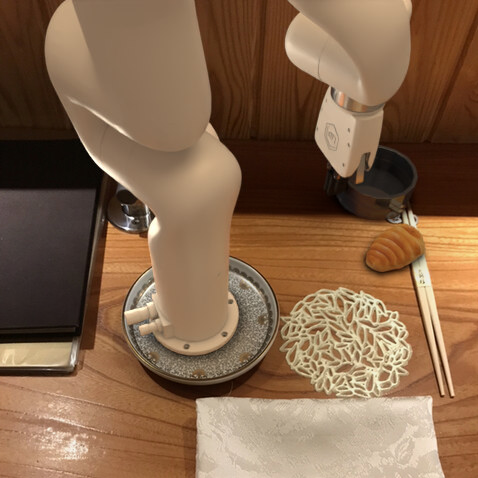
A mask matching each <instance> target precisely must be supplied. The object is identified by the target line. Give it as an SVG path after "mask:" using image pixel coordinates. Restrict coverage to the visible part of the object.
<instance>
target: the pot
mask: <svg viewBox="0 0 478 478" xmlns="http://www.w3.org/2000/svg"><path fill="white" fill-rule="evenodd" d="M418 179H419V177H418V171H417V168H416V166H415V164H414V163H413V162H412V161H411V159H410V158H409V157H408V155H406V154H404V153H402V152H400V151H399V150H397V149H395V148H393V147H388V146H385V145H382V144H378V148H377V152H376V155H375V159H374V162H373V164H372V166H371V168H370V170H369V171H365V170H364V178H363V182H362V183H359V184H353V183H352V182H351V181H350V180H348V184H347V188H346V191H345V192H343V193H339V194H335V195H336V198H337V201H338V202H339V203H340V205H341V206H342V207H343V208H344V209H345V210H346V211H347V212H349V213H351V214H352V215H354V216H356V217H358V218H361V219H365V220H369V221H385V220H390V219H393V218H395V217H397V216H399V215H401V214H402V213H403V212H404V211H405V210H406V208H407V207H408V204H409V202H410V199H411V197H412V195H413V192H414V190H415V187H416V184H417V181H418Z"/></svg>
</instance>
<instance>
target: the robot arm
mask: <svg viewBox="0 0 478 478" xmlns="http://www.w3.org/2000/svg"><path fill="white" fill-rule="evenodd" d="M287 2H288V3H289V4H290V5H292V7H294V8H295V10H297V11H298V12H299V13H297V15H296V16H294V17H293V19H292V21H291V22H290V24H289V25H288V28H287V29H286V33H285V37H284V49H285V50H284V51H285V52H286V55H287V57H288V59H289V61H290V62H291V63H292V64H293V65H294V66H296V67H297V68H298V69H299V70H301V71H302V72H304V73H306V74H308V75H310V76H311V77H313V78H315V79H316V80H318V81H320V82H322V83H324V84H326V85H328V88H327V90H326V91H325V95H324V97H323V100H322V103H321V105H320V106H321V107H320V110H319V114H318V118H317V122H316V126H315V130H314V140H315V142H316V145H317V146H318V149H320V151H321V152H322V153H323V155H324V157H325V158H326V168H327V172H326V177H325V180H324V185H323V190H324V191H325V192H326V194H327V196H328V197H331V196H335V195H336V194H339V193H343V192H345V191H346V188H347V184H348V180H350V181H351V182H352V183H353V184H359V183H362V182H363V178H364V170H365V171H369V170H370V168H371V166H372V164H373V162H374V159H375V155H376V152H377V148H378V145H380V138H381V134H382V128H383V121H384V107H385V105H386V102H388V101H389V100H390V99H391V98H393V97H394V96H395V94H397V92H398V91H399V90H400V88H401V87H402V85H403V82H404V81H405V78H406V76H407V73H408V70H409V65H410V60H411V50H412V47H411V46H412V45H411V44H412V43H411V41H412V40H411V39H412V38H411V25H410V22H411V19H412V18H411V17H412V14H413V4H412V0H287ZM199 26H200V25H199V21H198V15H197V9H196V1H195V0H64V1H63V2H62V3H60V5H59V6H58V7H57V8H56V10H55V11H54V13H53V15H52V16H51V18H50V20H49V23H48V25H47V29H46V32H45V33H46V34H45V39H44V40H45V41H44V58H45V65H46V71H47V73H48V76H49V80H50V83H51V85H52V86H53V88H54V91H55V93H56V95H57V96H58V98H59V101H60V103H61V104H62V106H63V108H64V110H65V112H66V114H67V117H68V118H69V120H70V122H71V124H72V126H73V128H74V130H75V132H76V133H77V135H78V138H79V139H80V142H81V143H82V145H83V147H84V148H85V150H86V152H87V153H88V155H89V156H90V157H91V159H92V160H93V161H94V163H95V164H96V165H97V166H98V167H99V168H100V169H101V170H102V171H104V172H105V173H106V174H107V175H108V176H110V177H111V178H112V179H114V180H115V181H116V182H117V183H118V184H120V185H121V186H122V187H123V188H125V189H126V190H127V191H128V192H130V193H131V194H132V195H133V196H134V197H135V198H136V199H138V200H139V201H140V202H141V203H143V204H144V205H145V206H146V207H147V208H148V209H149V210H150V211H151V212H152V213H153V215H154V216H155V217H154V218H153V219H152V220H151V223H150V224H149V226H148V230H147V245H148V251H149V256H150V262H151V267H152V274H153V275H152V276H153V281H154V287H155V293H154V292H153V293H152V294H151V300H152V301H150V302H147V303H145V306H141V307H140V308H139V307H138V308H134V309H130V310H126V311H124V312H123V314H124V317H125V321H126V324H127V326H133V325H136V324H138V323H141V322H143V321H145V320H149V323H145V324H141V325H138V326H137V327H138V331H139V333H140V336H141V337H143V336H146V335H149V334H151V333H152V334H153V336H154V337H155V339H156V341H158V342H159V343H160V344H161V345H162V346H163V347H165V348H166V349H168V350H170V351H171V352H174V353H177V354H179V355H186V356H201V355H207V354H209V353H212V352H215V351H217V350H218V349H220V348H222V347H224V346H225V345H226V344H227V343H228V342H229V341H230V340H231V339H232V338H233V336H234V335H235V332H236V331H237V328H238V325H239V319H240V318H239V317H240V315H239V311H240V310H239V306H238V302H237V300H236V298H235V297H234V294H233V293H231V291H230V290H229V286H230V285H229V283H230V282H229V281H230V280H229V279H230V250H231V249H230V243H231V241H230V239H231V226H232V219H233V215H234V211H235V207H236V204H237V201H238V198H239V194H240V191H241V186H242V177H243V176H242V170H241V166H240V164H239V162H238V160H237V158H236V157H235V155H234V154H233V153H232V151H230V150H229V148H228V147H227V146H226V145H225V144H224V143H223V142H221V141H220V139H219V140H218V139H216V138H215V137H214V136H212V135H211V134H209V133H208V132H207V131H205V130H206V128H207V126H208V123H210V119H211V114H212V91H211V90H212V89H211V84H210V83H211V82H210V78H209V71H208V68H207V62H206V56H205V52H204V46H203V42H202V35H201V31H200V27H199Z"/></svg>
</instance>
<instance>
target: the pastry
mask: <svg viewBox="0 0 478 478" xmlns="http://www.w3.org/2000/svg"><path fill="white" fill-rule="evenodd" d="M426 251H427V248H426V243H425V241H424V236H423V234H422V233H421V232H420V230H418V229H417V228H416V227H415V226H414V225H410V224H409V223H399V224H397V225H395V226H392V227H389V228H387V229H385V230H384V231H383V232H382V233H380V234H378V236H377V237H376V238H375V239H374V240H373V242H372V243H371V245H370V247H369V249H368V250H367V252H366V256H365V257H366V258H365V264H366V265H367V266H368V267H369V268H370V269H371V270H373V271H376V272H380V273H384V272H390V271H393V270H400V269H401V270H402V269H404V268H405V267H406V266H408V265H410V264H411V263H413V262H415V261H417V260H418V259H419V258H420V257H422V256H423V255H425V254H426Z"/></svg>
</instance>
